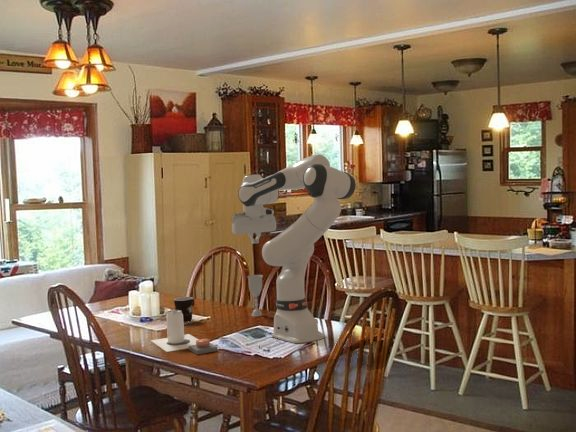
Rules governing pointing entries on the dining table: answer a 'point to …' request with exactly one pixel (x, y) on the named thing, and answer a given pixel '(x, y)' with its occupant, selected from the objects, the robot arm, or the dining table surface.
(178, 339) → the can
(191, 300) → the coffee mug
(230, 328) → the dining table surface
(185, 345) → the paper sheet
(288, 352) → the dining table surface
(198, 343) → the button
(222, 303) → the dining table surface
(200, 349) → the button base
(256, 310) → the chalice
